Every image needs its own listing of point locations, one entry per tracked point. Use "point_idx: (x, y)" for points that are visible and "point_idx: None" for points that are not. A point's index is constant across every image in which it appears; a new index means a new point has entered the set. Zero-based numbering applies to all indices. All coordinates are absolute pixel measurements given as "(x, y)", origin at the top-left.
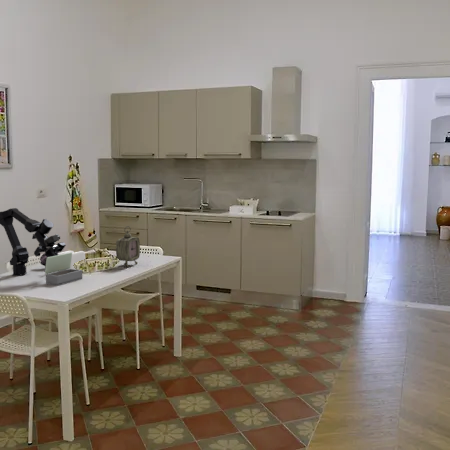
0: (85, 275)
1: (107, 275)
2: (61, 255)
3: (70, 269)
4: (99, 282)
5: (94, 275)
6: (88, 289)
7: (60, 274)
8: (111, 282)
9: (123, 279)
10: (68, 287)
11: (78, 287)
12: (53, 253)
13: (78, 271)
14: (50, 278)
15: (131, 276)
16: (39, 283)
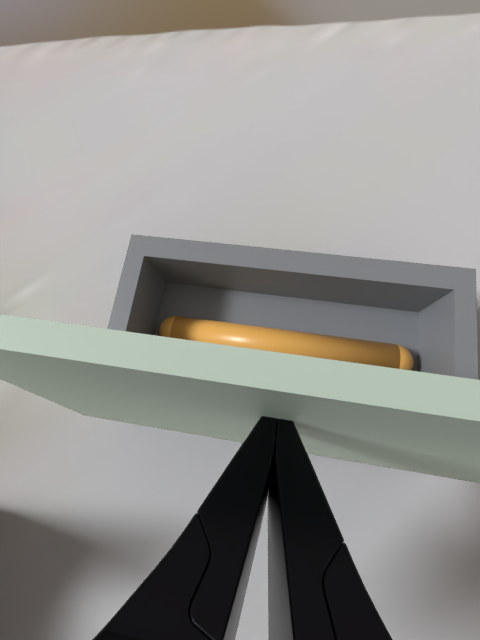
0: None
1: (9, 182)
2: (242, 352)
3: None
4: (218, 109)
5: (24, 263)
6: (411, 57)
7: None
8: (193, 53)
9: (100, 42)
10: (433, 193)
11: (398, 136)
12: (353, 609)
13: (180, 241)
14: None
15: (13, 48)
16: (446, 525)
